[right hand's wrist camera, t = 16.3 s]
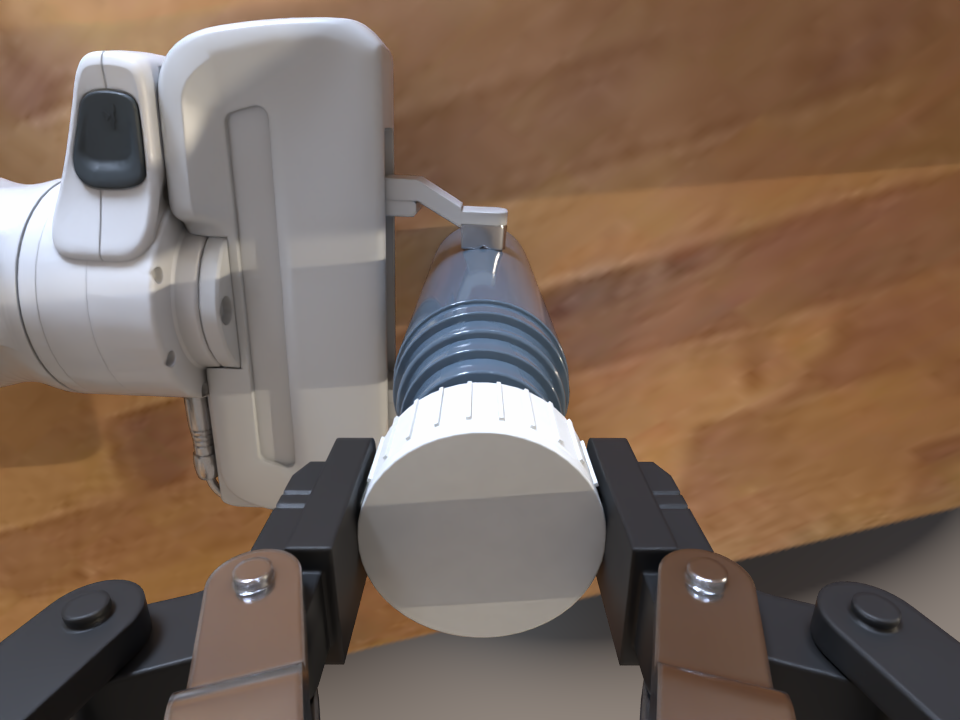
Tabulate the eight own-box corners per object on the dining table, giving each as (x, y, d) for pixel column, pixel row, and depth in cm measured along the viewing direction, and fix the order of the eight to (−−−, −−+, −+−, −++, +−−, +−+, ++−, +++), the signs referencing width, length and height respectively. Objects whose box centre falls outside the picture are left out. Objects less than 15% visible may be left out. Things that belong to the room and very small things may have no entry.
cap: (330, 486, 12) (302, 553, 10) (469, 332, 11) (467, 375, 9) (491, 597, 13) (492, 676, 11) (633, 467, 12) (664, 531, 10)
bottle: (476, 202, 29) (469, 341, 9) (549, 269, 30) (677, 515, 11) (412, 276, 30) (288, 534, 11) (484, 337, 32) (491, 670, 12)
